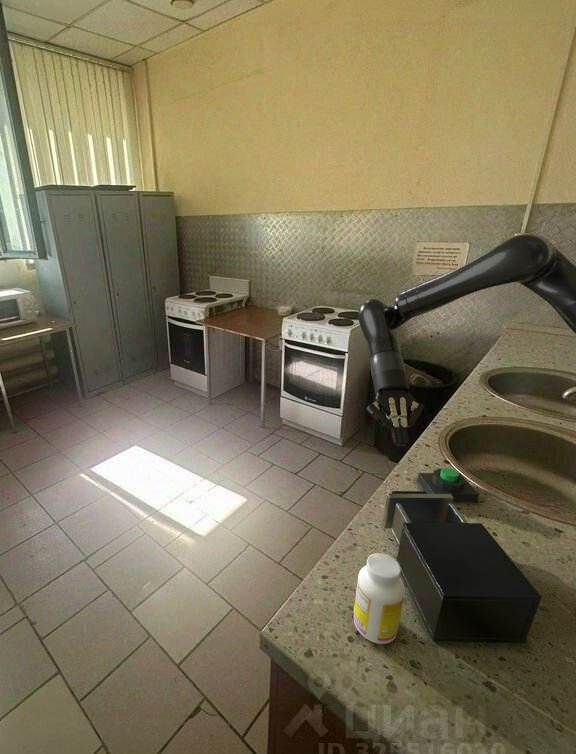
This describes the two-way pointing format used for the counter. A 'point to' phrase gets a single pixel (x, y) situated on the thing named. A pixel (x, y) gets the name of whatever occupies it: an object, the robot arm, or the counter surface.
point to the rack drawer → (418, 510)
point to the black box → (465, 584)
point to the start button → (449, 474)
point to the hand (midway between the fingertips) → (402, 445)
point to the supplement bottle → (379, 599)
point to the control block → (448, 486)
